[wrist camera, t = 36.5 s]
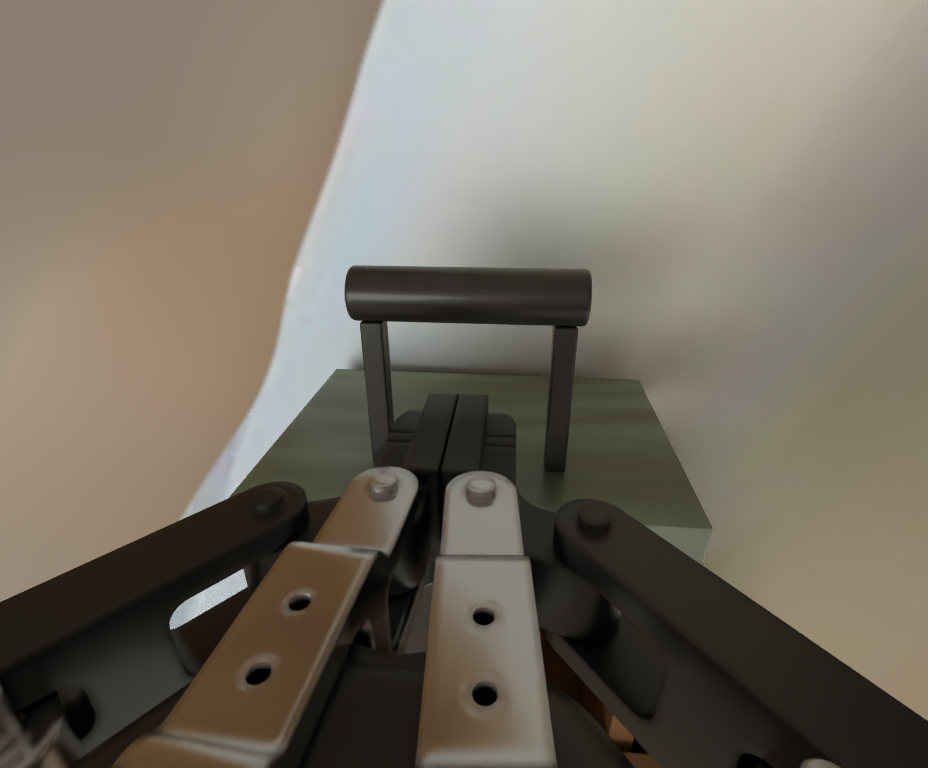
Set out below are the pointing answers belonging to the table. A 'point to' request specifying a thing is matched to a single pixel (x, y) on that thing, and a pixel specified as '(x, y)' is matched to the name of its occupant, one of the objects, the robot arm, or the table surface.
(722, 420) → the table surface
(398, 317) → the drawer
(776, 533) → the table surface
